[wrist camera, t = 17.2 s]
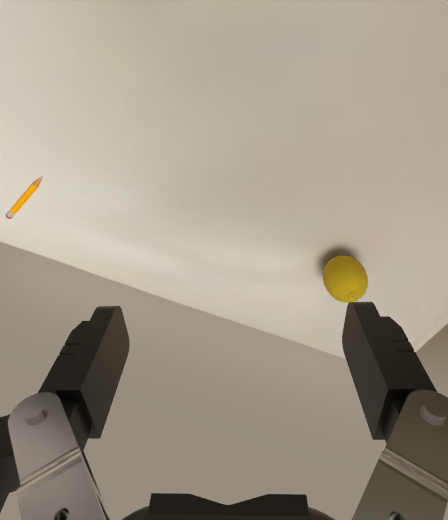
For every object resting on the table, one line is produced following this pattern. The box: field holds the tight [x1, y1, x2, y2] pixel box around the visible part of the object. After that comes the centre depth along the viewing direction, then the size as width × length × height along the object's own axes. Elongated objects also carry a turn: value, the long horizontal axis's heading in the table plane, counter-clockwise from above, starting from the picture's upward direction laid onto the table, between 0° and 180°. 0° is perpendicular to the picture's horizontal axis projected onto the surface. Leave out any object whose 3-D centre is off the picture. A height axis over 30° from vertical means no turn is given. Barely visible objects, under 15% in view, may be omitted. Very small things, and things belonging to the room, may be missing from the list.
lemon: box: [323, 255, 368, 302], centre depth 48 cm, size 6×6×8 cm
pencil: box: [6, 176, 43, 219], centre depth 48 cm, size 1×9×1 cm, turn 133°
